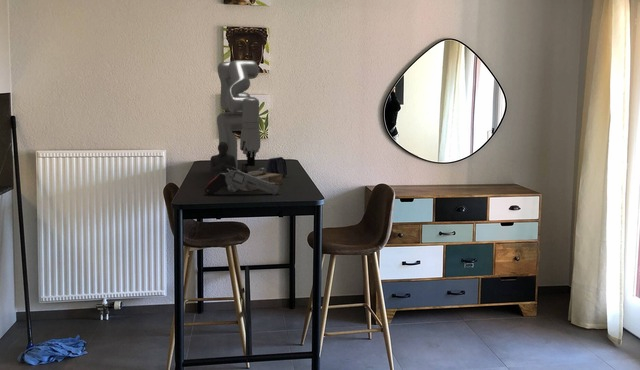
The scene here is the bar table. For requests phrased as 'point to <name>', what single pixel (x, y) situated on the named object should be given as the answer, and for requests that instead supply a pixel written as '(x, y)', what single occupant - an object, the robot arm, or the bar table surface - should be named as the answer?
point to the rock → (277, 166)
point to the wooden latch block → (266, 177)
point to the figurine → (222, 160)
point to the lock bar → (245, 170)
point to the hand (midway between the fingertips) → (250, 165)
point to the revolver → (230, 179)
